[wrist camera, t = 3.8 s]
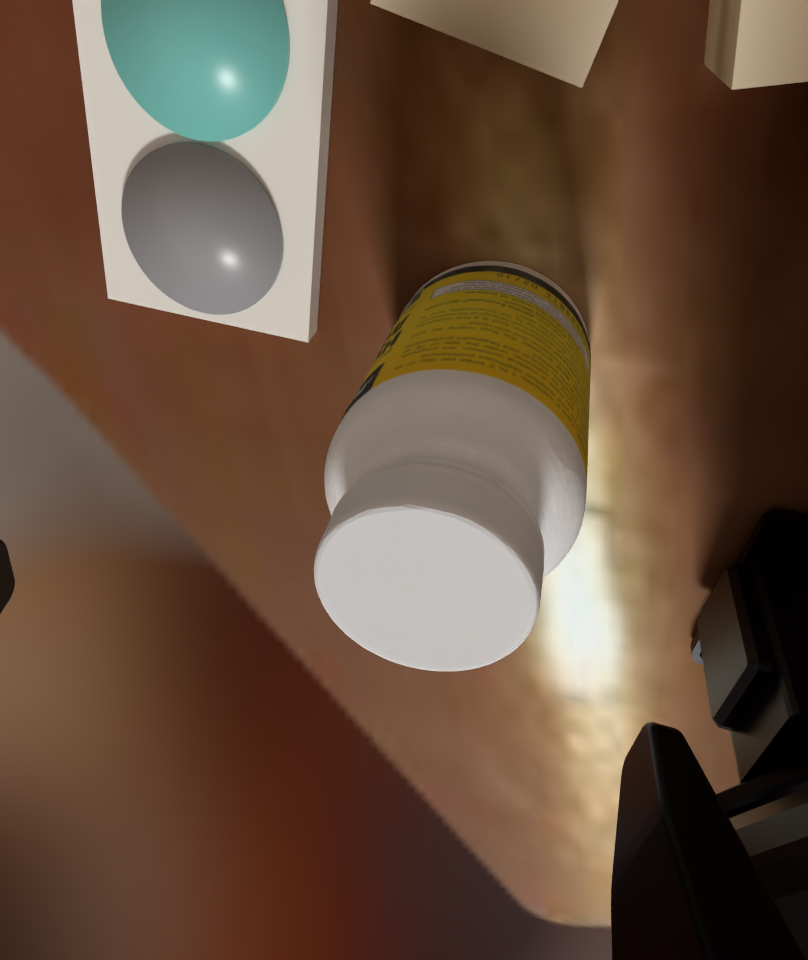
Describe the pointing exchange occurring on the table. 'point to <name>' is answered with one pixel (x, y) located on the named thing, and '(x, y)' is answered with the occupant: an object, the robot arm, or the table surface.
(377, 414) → the supplement bottle
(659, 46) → the table surface
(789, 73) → the beech block
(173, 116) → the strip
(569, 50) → the beech block
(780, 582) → the robot arm
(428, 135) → the table surface
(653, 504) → the table surface
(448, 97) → the table surface
